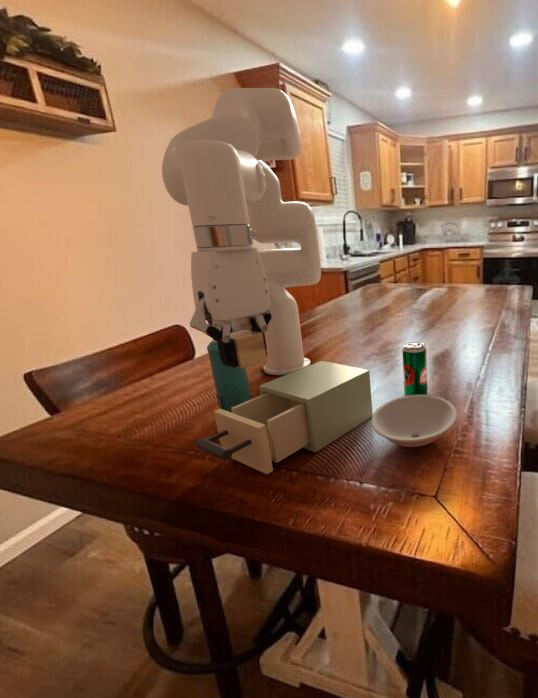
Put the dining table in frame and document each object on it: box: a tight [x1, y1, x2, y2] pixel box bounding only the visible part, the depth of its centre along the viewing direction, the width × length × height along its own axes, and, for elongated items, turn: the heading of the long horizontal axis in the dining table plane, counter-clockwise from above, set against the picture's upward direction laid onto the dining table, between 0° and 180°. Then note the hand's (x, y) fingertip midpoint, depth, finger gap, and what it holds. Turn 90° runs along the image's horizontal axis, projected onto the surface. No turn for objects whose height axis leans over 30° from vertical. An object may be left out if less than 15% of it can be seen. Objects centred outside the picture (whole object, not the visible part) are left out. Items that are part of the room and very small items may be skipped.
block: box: [230, 329, 267, 368], centre depth 63 cm, size 4×4×4 cm
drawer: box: [195, 393, 311, 475], centre depth 67 cm, size 20×12×8 cm, turn 146°
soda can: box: [401, 341, 428, 396], centre depth 87 cm, size 5×5×12 cm
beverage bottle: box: [206, 322, 253, 413], centre depth 80 cm, size 6×7×20 cm
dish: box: [371, 394, 458, 448], centre depth 70 cm, size 18×14×5 cm
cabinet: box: [258, 360, 374, 453], centre depth 77 cm, size 16×13×10 cm
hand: (245, 359), depth 63 cm, fingers closed on block, 4 cm apart
